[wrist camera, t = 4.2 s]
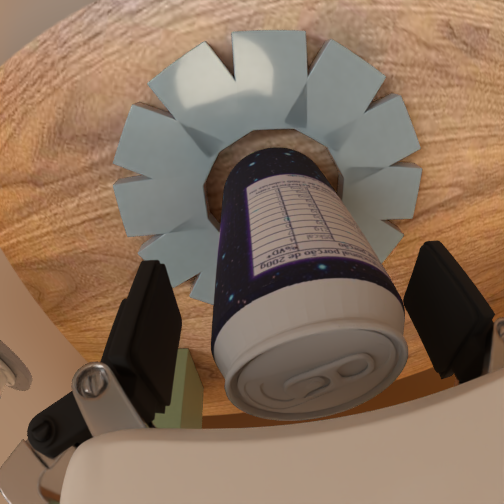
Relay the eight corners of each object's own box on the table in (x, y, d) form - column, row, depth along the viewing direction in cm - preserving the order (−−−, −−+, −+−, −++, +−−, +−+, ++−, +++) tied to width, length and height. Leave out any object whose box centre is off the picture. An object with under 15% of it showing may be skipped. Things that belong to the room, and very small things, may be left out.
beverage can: (204, 175, 16) (160, 371, 6) (294, 124, 14) (409, 267, 5) (255, 247, 19) (273, 436, 9) (336, 206, 17) (426, 380, 8)
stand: (138, 386, 29) (118, 577, 10) (111, 345, 25) (72, 582, 5) (205, 388, 29) (204, 594, 10) (190, 347, 25) (179, 614, 5)
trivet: (158, 309, 22) (156, 318, 21) (97, 60, 11) (89, 60, 11) (385, 291, 22) (389, 299, 21) (422, 51, 11) (432, 51, 11)
